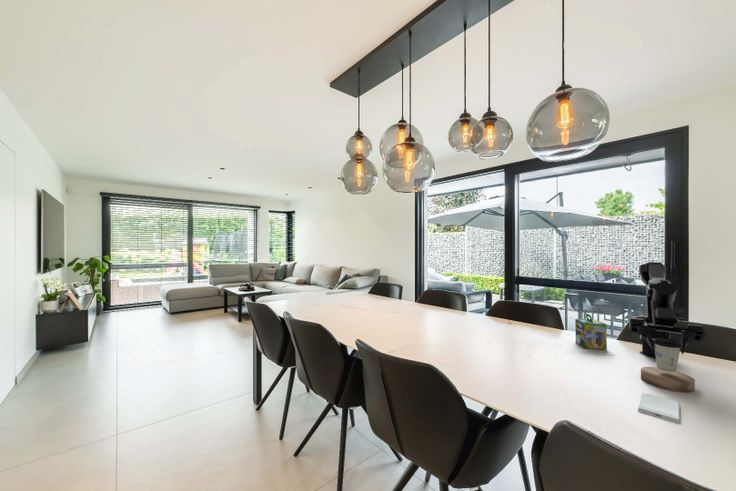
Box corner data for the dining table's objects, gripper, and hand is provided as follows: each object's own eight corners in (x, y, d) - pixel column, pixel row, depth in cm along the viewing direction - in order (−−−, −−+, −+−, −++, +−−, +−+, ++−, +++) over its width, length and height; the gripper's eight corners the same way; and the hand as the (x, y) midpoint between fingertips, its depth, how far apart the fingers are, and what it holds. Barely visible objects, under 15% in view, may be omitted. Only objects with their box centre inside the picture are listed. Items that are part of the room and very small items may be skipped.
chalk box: (607, 350, 136) (607, 316, 136) (584, 348, 138) (584, 315, 138) (596, 343, 145) (596, 312, 145) (574, 342, 147) (574, 311, 147)
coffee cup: (680, 369, 104) (680, 339, 104) (681, 375, 99) (682, 344, 99) (652, 363, 109) (652, 335, 108) (652, 369, 103) (652, 340, 103)
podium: (666, 375, 110) (666, 366, 110) (707, 392, 97) (707, 383, 97) (630, 374, 110) (630, 366, 110) (666, 392, 97) (666, 382, 97)
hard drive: (641, 392, 95) (637, 407, 86) (679, 402, 89) (679, 418, 80) (641, 397, 95) (637, 413, 86) (679, 407, 89) (679, 425, 80)
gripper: (630, 295, 112) (632, 332, 104) (704, 301, 101) (713, 344, 92) (628, 313, 119) (630, 349, 110) (698, 320, 107) (706, 361, 99)
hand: (667, 350), depth 102 cm, fingers closed on coffee cup, 7 cm apart
